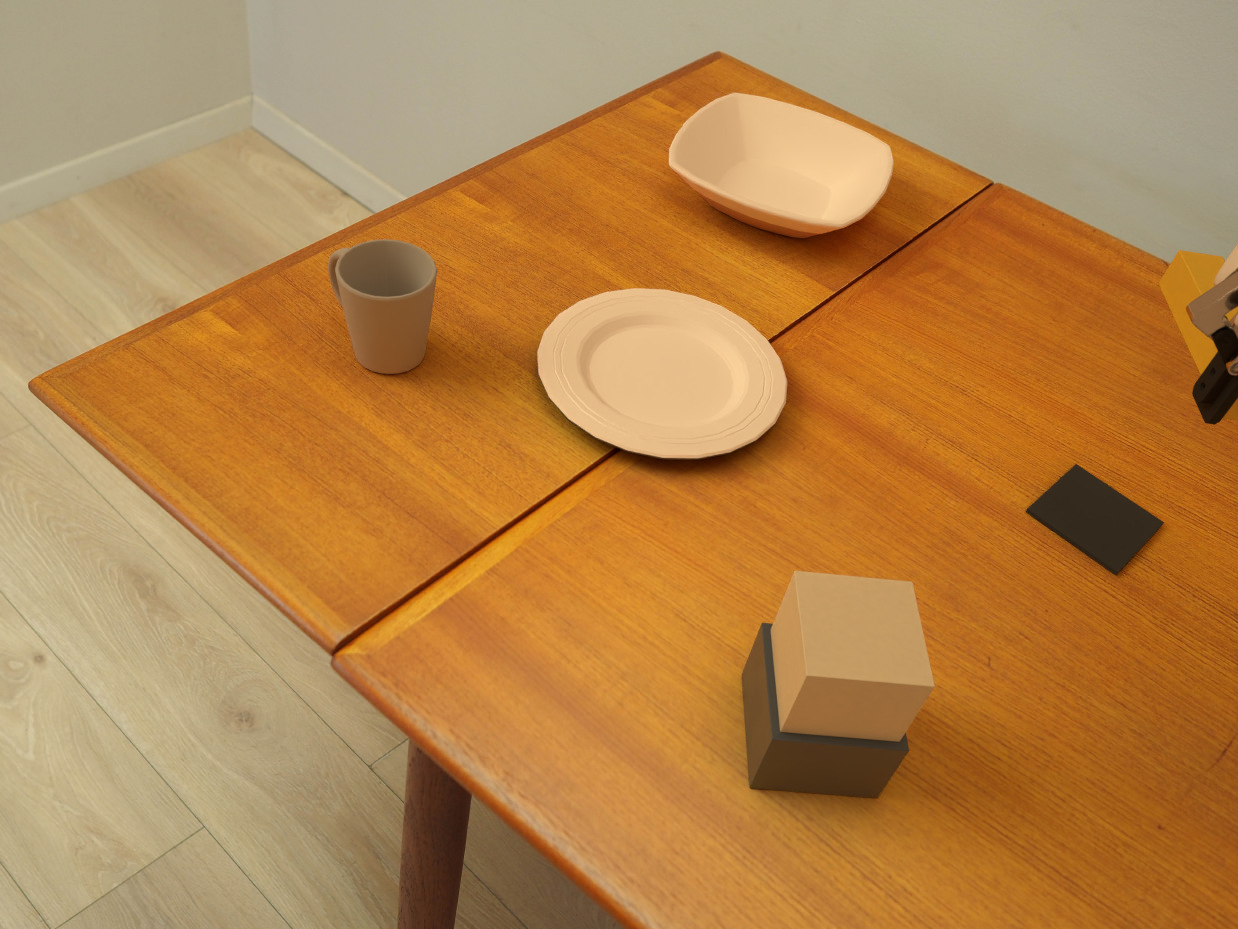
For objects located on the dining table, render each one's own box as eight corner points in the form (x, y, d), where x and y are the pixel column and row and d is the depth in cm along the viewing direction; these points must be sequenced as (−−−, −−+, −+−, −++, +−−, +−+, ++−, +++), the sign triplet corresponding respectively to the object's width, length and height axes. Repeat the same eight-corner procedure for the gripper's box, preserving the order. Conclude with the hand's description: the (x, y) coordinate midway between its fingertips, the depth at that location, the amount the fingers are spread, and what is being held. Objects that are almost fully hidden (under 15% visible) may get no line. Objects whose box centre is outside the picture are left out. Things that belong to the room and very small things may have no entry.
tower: (859, 684, 70) (919, 575, 61) (877, 798, 64) (946, 695, 56) (741, 674, 69) (784, 562, 60) (749, 788, 64) (798, 683, 55)
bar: (1157, 283, 76) (1178, 249, 73) (1200, 290, 76) (1223, 256, 74) (1220, 418, 66) (1246, 383, 64) (1269, 425, 66) (1297, 390, 64)
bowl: (840, 288, 100) (855, 242, 96) (635, 211, 105) (643, 164, 101) (896, 187, 115) (912, 143, 111) (714, 123, 119) (724, 79, 115)
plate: (755, 506, 80) (760, 489, 78) (497, 426, 82) (498, 408, 81) (802, 343, 94) (807, 326, 92) (581, 279, 96) (583, 262, 95)
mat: (1162, 525, 84) (1164, 522, 83) (1115, 575, 79) (1118, 572, 79) (1074, 466, 87) (1076, 463, 87) (1025, 511, 83) (1027, 508, 82)
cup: (390, 397, 83) (386, 312, 76) (301, 339, 86) (291, 253, 80) (456, 352, 87) (458, 268, 81) (369, 298, 91) (365, 214, 84)
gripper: (1541, 145, 57) (1332, 392, 70) (1248, 99, 56) (1093, 357, 70) (1622, 223, 52) (1380, 474, 65) (1301, 173, 51) (1123, 436, 64)
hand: (1234, 411), depth 67 cm, fingers closed on bar, 3 cm apart
